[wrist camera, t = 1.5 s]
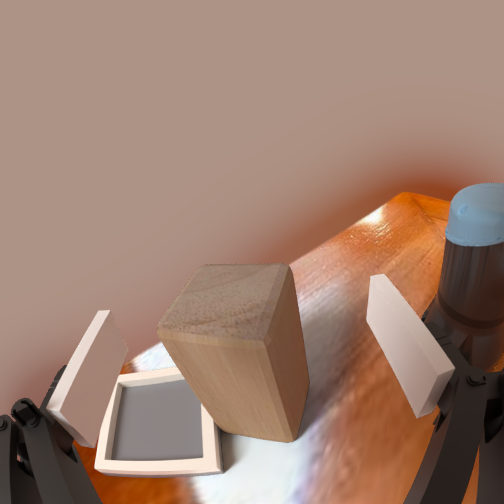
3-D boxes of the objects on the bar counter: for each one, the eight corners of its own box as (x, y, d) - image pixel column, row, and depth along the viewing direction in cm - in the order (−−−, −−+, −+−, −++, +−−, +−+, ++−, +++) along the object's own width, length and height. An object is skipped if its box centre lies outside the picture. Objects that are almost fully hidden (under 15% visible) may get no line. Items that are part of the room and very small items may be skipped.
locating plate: (215, 371, 42) (210, 360, 40) (223, 473, 27) (216, 467, 25) (120, 385, 41) (111, 375, 40) (106, 475, 27) (94, 468, 25)
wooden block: (242, 375, 40) (198, 260, 30) (311, 381, 36) (293, 258, 27) (219, 433, 32) (148, 328, 22) (296, 446, 28) (266, 341, 19)
